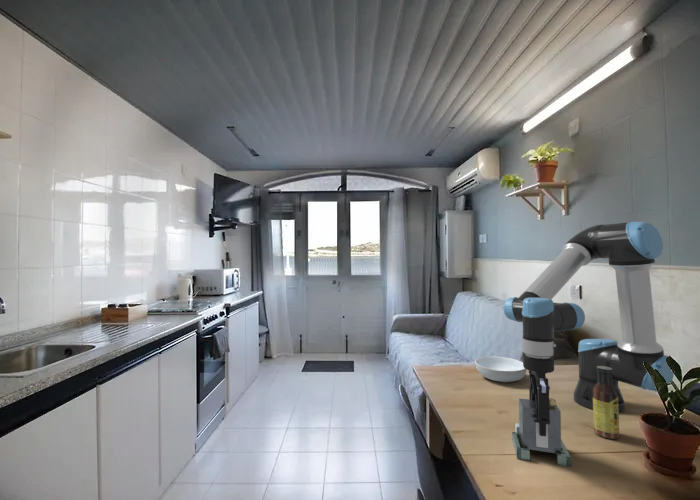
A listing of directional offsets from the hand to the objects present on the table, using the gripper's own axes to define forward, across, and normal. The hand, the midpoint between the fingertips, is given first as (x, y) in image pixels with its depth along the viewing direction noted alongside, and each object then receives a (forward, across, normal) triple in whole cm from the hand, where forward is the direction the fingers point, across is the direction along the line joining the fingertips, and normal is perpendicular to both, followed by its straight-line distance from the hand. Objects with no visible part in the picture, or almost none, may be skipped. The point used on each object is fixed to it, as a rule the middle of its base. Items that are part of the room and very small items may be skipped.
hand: (539, 440), depth 95 cm
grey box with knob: (+1, 0, 0) cm, 1 cm away
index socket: (+3, 0, 0) cm, 3 cm away
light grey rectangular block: (+3, +6, +1) cm, 7 cm away
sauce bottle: (+4, +17, -21) cm, 27 cm away
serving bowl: (+4, +60, +4) cm, 60 cm away
